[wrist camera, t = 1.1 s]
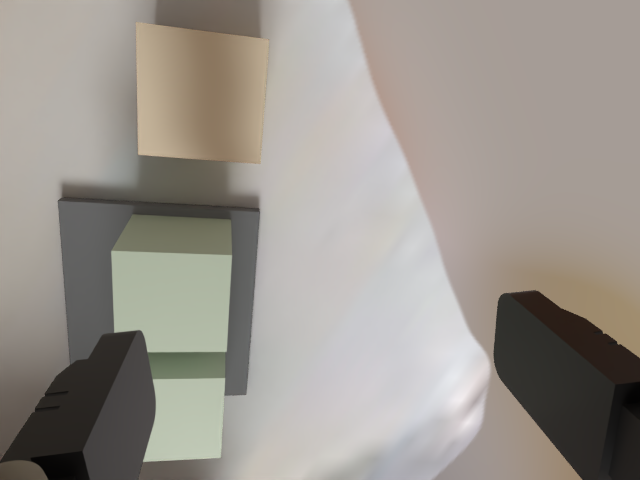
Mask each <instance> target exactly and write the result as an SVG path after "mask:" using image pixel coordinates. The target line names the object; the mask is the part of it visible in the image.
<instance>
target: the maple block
mask: <svg viewBox="0 0 640 480" xmlns="http://www.w3.org/2000/svg"><path fill="white" fill-rule="evenodd" d="M268 50H269V39H263V38H255V37H247V36H240V35H232V34H224V33H216V32H209V31H201V30H193V29H185V28H178V27H170V26H162V25H155V24H147V23H139V22H136V61H137V121H138V155H147V156H161V157H174V158H187V159H201V160H214V161H227V162H241V163H254V164H260V163H261V148H262V134H263V120H264V106H265V92H266V78H267V64H268Z"/></svg>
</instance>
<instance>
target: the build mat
mask: <svg viewBox="0 0 640 480" xmlns="http://www.w3.org/2000/svg"><path fill="white" fill-rule="evenodd" d="M58 208H59V221H60V234H61V248H62V261H63V274H64V287H65V301H66V314H67V327H68V340H69V354H70V365H71V364H72V363H74V362H75V361H76V360H82V359H88V358H89V356H90V354H91V353H92V351H93V349H94V348H95V346H96V344H97V342H98V341H99V339H100V337H101V336H102V335H103V334H106V333H114V312H113V285H112V258H111V250H112V249H113V247H114V245H115V244H116V242H117V240H118V238H119V237H120V235H121V233H122V232H123V230H124V228H125V227H126V225H127V223H128V221H129V220H130V218H131V216H132V215H133V214H136V215H155V216H174V217H194V218H213V219H231V234H232V265H231V283H230V301H229V319H228V337H227V352H225V392H224V395H246V391H247V378H248V364H249V351H250V337H251V324H252V310H253V297H254V283H255V270H256V256H257V243H258V229H259V216H260V211H259V209H254V208H236V207H218V206H201V205H183V204H165V203H148V202H130V201H112V200H95V199H77V198H61V199H60V200H58Z"/></svg>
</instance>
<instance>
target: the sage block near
mask: <svg viewBox="0 0 640 480" xmlns="http://www.w3.org/2000/svg"><path fill="white" fill-rule="evenodd" d="M111 258H112V285H113V312H114V333H116V332H126V331H135V330H141V331H142V333H143V335H144V337H145V341H146V347H147V352H227V337H228V319H229V301H230V283H231V265H232V234H231V219H213V218H194V217H174V216H155V215H136V214H133V215H132V216H131V218H130V220H129V221H128V223H127V225H126V227H125V228H124V230H123V232H122V233H121V235H120V237H119V238H118V240H117V242H116V244H115V245H114V247H113V249H112V250H111Z"/></svg>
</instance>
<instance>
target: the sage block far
mask: <svg viewBox="0 0 640 480" xmlns="http://www.w3.org/2000/svg"><path fill="white" fill-rule="evenodd" d="M148 357H149V363H150V368H151V373H152V379H153V384H154V389H155V397H156V414H155V421H154V425H153V428H152V432H151V435H150V439H149V442H148V446H147V449H146V453H145V456H144V460H143V462H150V461H170V460H190V459H210V458H221V446H222V428H223V410H224V392H225V352H148Z"/></svg>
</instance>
